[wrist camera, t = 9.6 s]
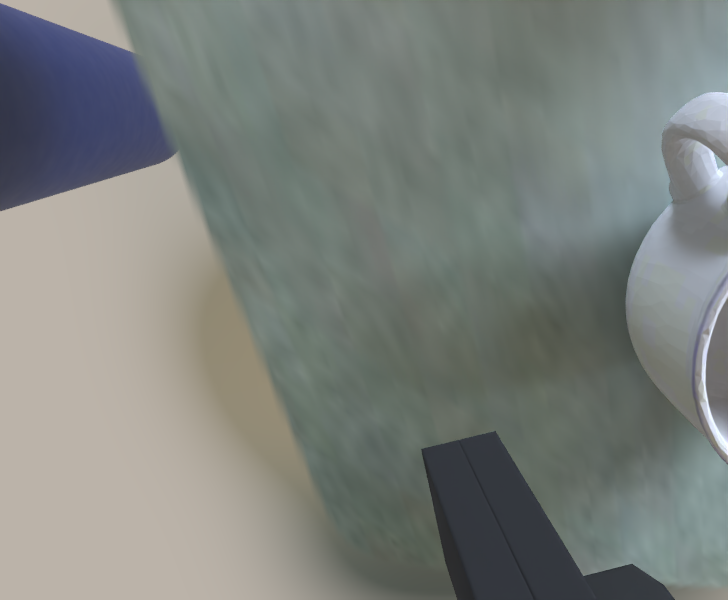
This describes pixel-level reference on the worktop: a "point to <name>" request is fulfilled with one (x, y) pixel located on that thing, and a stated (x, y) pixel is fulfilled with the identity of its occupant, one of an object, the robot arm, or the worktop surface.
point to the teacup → (688, 273)
